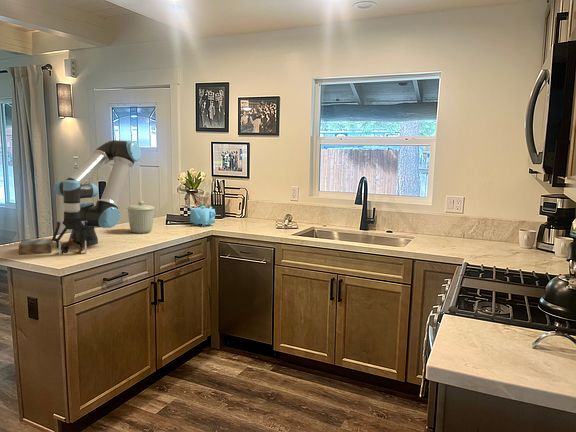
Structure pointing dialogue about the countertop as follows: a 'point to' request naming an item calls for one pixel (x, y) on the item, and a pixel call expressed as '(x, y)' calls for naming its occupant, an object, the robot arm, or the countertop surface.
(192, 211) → the teakettle
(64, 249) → the brown headphones
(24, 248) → the walnut plinth
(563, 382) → the countertop surface
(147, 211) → the canister
